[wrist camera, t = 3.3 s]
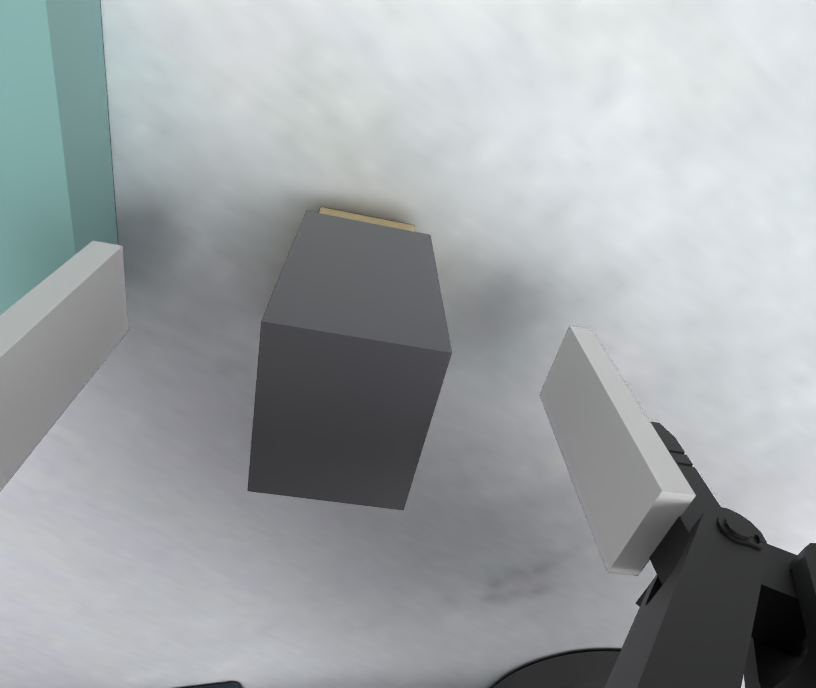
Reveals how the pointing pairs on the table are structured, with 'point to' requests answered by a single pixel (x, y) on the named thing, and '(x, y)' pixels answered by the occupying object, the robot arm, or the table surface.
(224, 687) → the power unit
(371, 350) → the plug
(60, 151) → the socket plate
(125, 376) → the table surface
